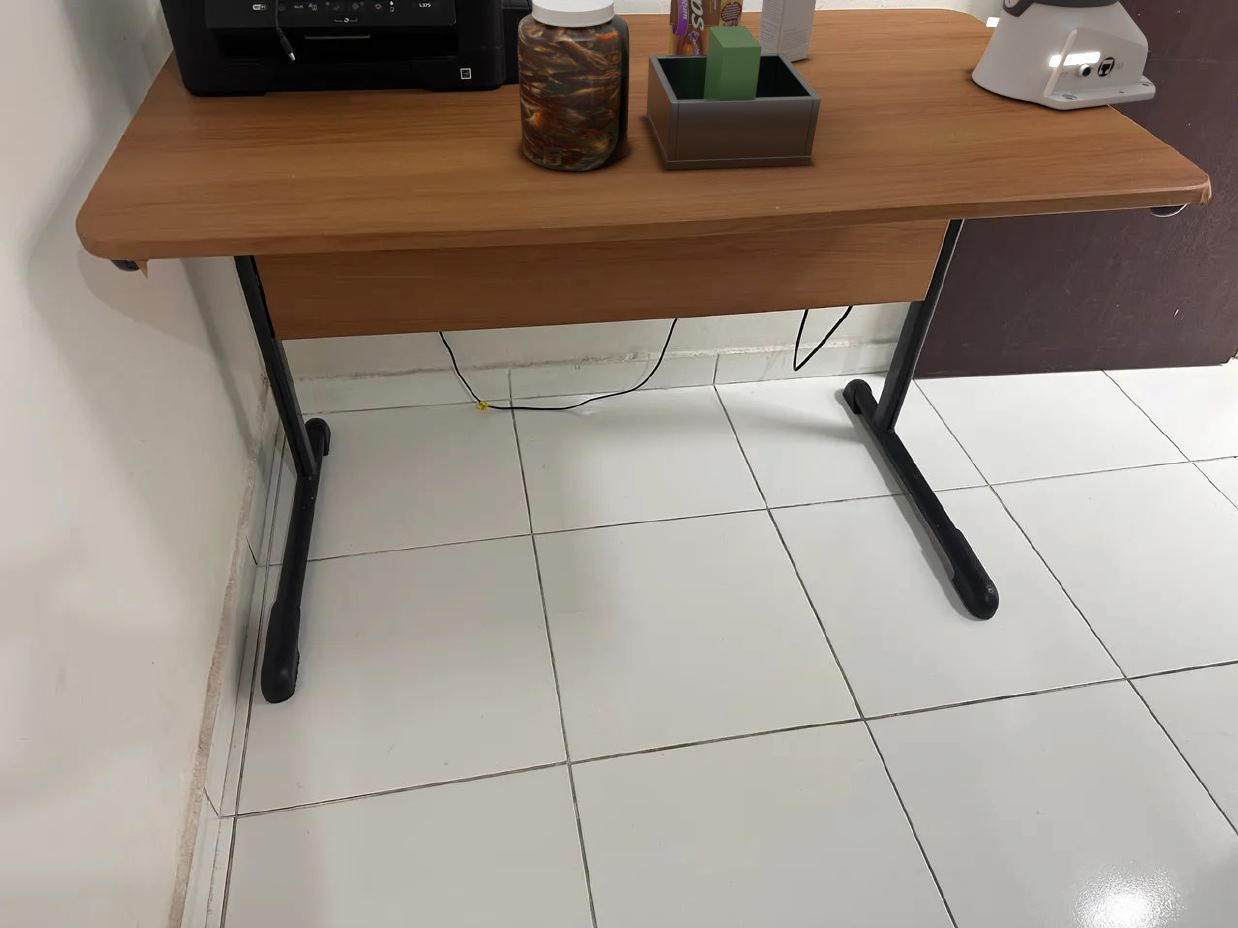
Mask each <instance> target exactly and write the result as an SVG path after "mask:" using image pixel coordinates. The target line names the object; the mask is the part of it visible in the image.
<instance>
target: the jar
mask: <svg viewBox="0 0 1238 928" xmlns="http://www.w3.org/2000/svg"><path fill="white" fill-rule="evenodd" d="M531 7H532V8H531V9H532V10H531V13H529V14H527V15H526V16H525V17H523V18H522V19H521V20H520V21H519V23H518V27H517V67H518V70H517V71H518V88H519V90H518V91H519V106H520V107H519V108H520V109H519V110H520V124H521V125H520V127H521V141H522V150H523V154H524V155H525V157H526V158H527V159H528V160H529V161H531V162H532V163H534V164H536V165H539V166H541V167H545V168H547V169H551V170H552V169H553V170H557V171H568V172H569V171H571V172H572V171H574V172H575V171H576V172H579V171H590V170H596V169H601V168H605V167H607V166H610V165H613V164H614V163H617V162H618V161H620V160H621V159H623V157H624V156H625V155H626V153H627V151H628V150H627V149H628V136H629V135H628V133H629V102H630V101H629V99H630V98H629V97H630V29H629V24H628V22H627V20H626V19H625V18H623V17H622V16H620V15H618V14H617V13H615V0H531Z"/></svg>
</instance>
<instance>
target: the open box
mask: <svg viewBox="0 0 1238 928" xmlns="http://www.w3.org/2000/svg"><path fill="white" fill-rule="evenodd" d="M706 64H707V55H668V54H667V55H665V54H664V55H648V73H647V97H646V120H647V124H648V125H649V128H650V130H651V133H652V135H653V138H654V140H655V143H656V146H657V147H658V150H659V152H660V155H661V157H662V160H663V162H664V165H665V167H666V170H667V171H677V170H678V171H679V170H704V169H705V170H707V169H708V170H709V169H730V168H731V169H732V168H733V169H734V168H760V167H761V168H763V167H787V166H809V165H810V164H811V159H812V154H813V147H814V141H815V136H816V130H817V124H818V123H817V122H818V119H819V113H820V106H821V102H822V99H821V97H820V96H819V95H818V93H817V92H816V91H815V90H814V88H813V87H812V86H811V85H810V83H809V82H808V81H807V80H806V79H805V77H803V75H802V74H801V73H800V72H799V70H798V69H797V67H795V65H794V64H793V63H792V62H790V61H789V60H788V58H787V57H786V56H785V55H784V54H783V53H761V57H760V65H759V73H758V81H757V89H756V97H755V98H731V99H704V88H705V76H706ZM810 166H811V165H810Z"/></svg>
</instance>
